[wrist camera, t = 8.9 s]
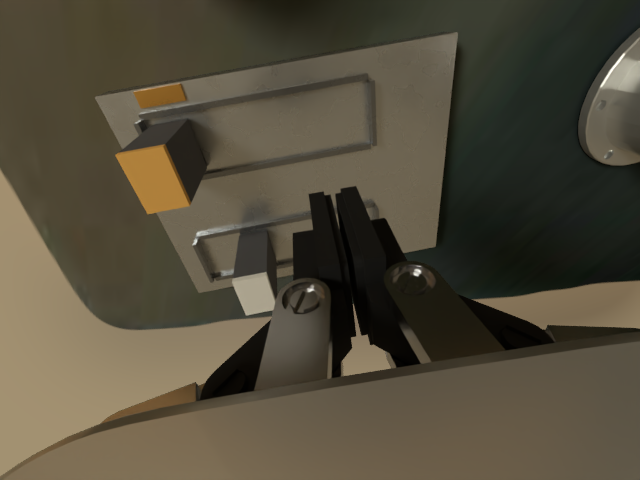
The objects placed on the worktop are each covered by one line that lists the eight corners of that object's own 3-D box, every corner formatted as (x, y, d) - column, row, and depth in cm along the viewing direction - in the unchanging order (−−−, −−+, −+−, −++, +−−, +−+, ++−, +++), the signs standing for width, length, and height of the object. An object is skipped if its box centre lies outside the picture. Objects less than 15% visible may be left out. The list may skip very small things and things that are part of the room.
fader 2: (267, 230, 27) (266, 275, 22) (276, 261, 29) (277, 309, 24) (239, 235, 27) (231, 282, 22) (250, 266, 29) (246, 315, 24)
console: (443, 31, 22) (465, 32, 19) (427, 235, 32) (440, 252, 30) (108, 91, 21) (86, 99, 19) (202, 279, 32) (197, 300, 29)
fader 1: (188, 118, 21) (163, 146, 16) (207, 167, 23) (189, 206, 18) (151, 125, 21) (115, 155, 16) (173, 174, 23) (147, 214, 18)
